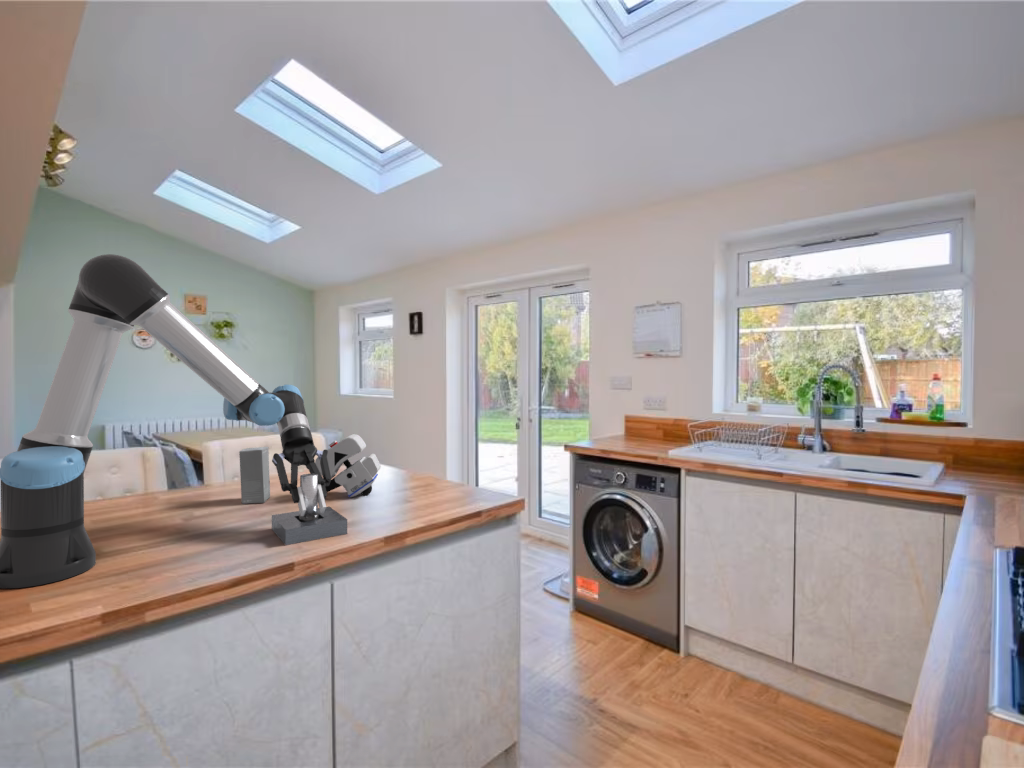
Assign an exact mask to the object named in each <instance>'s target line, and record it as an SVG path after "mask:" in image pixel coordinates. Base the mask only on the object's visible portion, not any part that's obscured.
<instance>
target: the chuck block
mask: <svg viewBox="0 0 1024 768" xmlns="http://www.w3.org/2000/svg"><path fill="white" fill-rule="evenodd" d="M318 513H319V519H316V520H309V521H303V522H300V521H299V515H300V511H299V510H298V511H290V512H284V513H278V514H277V513H275V514H271V530H272V531H273V532H274V533H275V535H276V536H277V537H278V538H279V539H280V540H281V542H282V543H283V544H284V546H288V545H293V544H299V543H300V544H301V543H304V542H310V541H316V540H320V538H322V539H327V538H331V536H332V537H337V536H342V535H348V519H347V518H346V517H345V516H343V515H342V514H341V513H339V512H337V510H335V509H333V508H332V507H330V506H326V509H325V511H324V513H320V508H319V507H318ZM326 537H327V538H326ZM315 539H316V540H315Z"/></svg>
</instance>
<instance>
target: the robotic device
mask: <svg viewBox="0 0 1024 768" xmlns="http://www.w3.org/2000/svg"><path fill="white" fill-rule="evenodd" d="M328 447H330V448H328V449H327V450H328V454H327V460H328V465H329V470H330V475H331V482H330V484H329V486H325V488H326V492H327V493H329V492H331V491H333V490H335V489H338V488H340V487H343V488H344V489H345V491H346V492H347V497H348V498H352V497H356V496H358V495H360V494H361V495H364V496H367V495H370V494H371V493H372V491H373V484H374V482H375V480H376V479H377V477H378V472H379V471H380V470H381V467H382V466H381V464H380V461H379V459H378V457H377V455H376V454H375V453H371V454H370V455H367V456H362V457H360V459H358V460H357V461H355V462H354V463H351V461H350V460H349V459H350V458H351V457H354V456H356V455H357V454H360V453H361V452H362V451H364V450H365V449H366V448H367V444H366V442H365V440H364V439H363V437H361V436H360V435H359V434H355V433H353V434H350V435H348V436H346V437H344V438H343V439H342V440H340V441H337V440H334V441H332V442H330V443H329V444H328ZM314 460H315V464H316V466H317V468H318V470H319V472H320V473H321V475H322V470H321V465H320V460H319V458H318V456H317V457H316V458H315V459H314ZM343 465H344V466H345V468H344V470H342V471H340V472H339V470H340V468H341V466H343ZM338 472H339V473H338ZM322 477H323V475H322Z"/></svg>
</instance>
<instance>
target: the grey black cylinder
mask: <svg viewBox="0 0 1024 768" xmlns="http://www.w3.org/2000/svg"><path fill="white" fill-rule="evenodd" d="M299 476H300V477H299V478H300V479H299V481H300V482H299V483H300V484H299V487H301V489H302V493H303V498H304V502H305V507H306V512H305V514H304V516H300V515H299V521H300V522H303V521H309V520H316V519H319V513H318V508H319V504H318V474H310V473H304V474H300V475H299Z"/></svg>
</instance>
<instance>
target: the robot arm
mask: <svg viewBox="0 0 1024 768" xmlns="http://www.w3.org/2000/svg"><path fill="white" fill-rule="evenodd" d="M67 310H68V311H67V312H68V313H69V314H70V316H71V318H73V324H72V326H71V328H70V331H69V335H68V337H67V340H66V342H65V345H64V349H63V351H62V354H61V356H60V358H59V359H60V360H59V361H58V364H57V368H56V370H55V372H54V376H53V379H52V382H51V384H50V387H49V390H48V393H47V395H46V398H45V401H44V404H43V407H42V409H41V412H40V415H39V418H38V421H37V423H36V426H35V428H34V429H32V430H30V431H28V432H26V433H24V434H23V435H22V437H21V439H20V442H19V444H18V447H17V451H13V452H10V453H9V454H7V455H5V456H4V457H3V458H2V460H1V462H0V529H1V530H0V531H1V532H0V589H19V588H22V589H23V588H30V587H35V586H42V585H45V584H46V585H47V584H51V583H54V582H59V581H62V580H66V579H69V578H73V577H75V576H77V575H80V574H82V573H85V572H87V571H89V570H91V569H92V568H93V567H94V566H95V565H96V561H97V560H96V558H97V556H96V554H97V553H96V550H95V548H94V546H93V543H92V541H91V538H90V536H89V535H88V532H87V530H86V528H85V490H84V489H85V488H84V487H85V482H84V481H85V479H84V478H85V477H84V474H85V470H86V468H87V466H88V462H89V459H90V456H91V453H92V450H93V447H94V444H93V442H92V441H91V440H90V439H89V437H88V435H89V434H90V430H91V426H92V424H93V421H94V418H95V415H96V412H97V409H98V406H99V403H100V400H101V397H102V394H103V391H104V388H105V385H106V383H107V380H108V376H109V374H110V371H111V368H112V365H113V362H114V361H115V356H116V354H117V350H118V348H119V344H120V342H121V340H122V336H123V334H124V333H126V332H128V331H130V330H132V329H134V327H135V326H138V327H140V328H142V329H143V330H144V331H145V332H147V334H149V335H150V336H151V337H152V338H153V339H155V340H156V341H157V342H158V343H159V344H160V345H162V346H163V347H164V348H165V349H167V351H169V353H171V354H172V355H174V357H176V358H177V359H179V361H180V362H182V363H183V364H184V365H185V366H186V367H188V369H190V370H192V371H193V373H195V374H196V375H197V376H198V377H200V379H202V380H203V381H204V382H205V383H206V384H208V386H210V387H211V388H213V390H215V391H216V392H217V393H218V394H220V395H221V396H222V397H223V398H224V399H223V403H222V407H223V408H222V410H223V411H222V413H223V417H224V418H225V419H226V420H228V421H229V420H230V421H236V422H238V421H246V422H250V423H254V424H255V425H258V426H262V427H263V426H266V427H267V426H274V425H276V424H277V427H278V432H279V436H280V442H281V448H282V451H281V452H280V453H274V454H273V456H272V459H271V462H272V463H273V464H274V466H275V468H276V471H277V475H278V476H277V477H278V480H279V484H280V487H281V491H282V492H289V494H290V495H291V498H292V502H293V503H294V504H297V507H298V511H300V516H304V514H305V512H306V507H305V502H304V498H303V493H302V489H301V487H300V486H298V481H299V480H298V478H299V477H298V476H299V475H298V474H299V466H305V467H306V470H308V471H309V474H318V508H320V513H324V511H325V509H326V507H327V505H326V499H327V496H328V492H326V488H325V486H329V484H330V482H331V480H332V479H331V475H330V470H329V465H328V460H327V454H328V449H323V450H320V449H318V448H317V447H316V446H315V444H314V443H315V442H314V438H313V435H312V432H311V427H310V423H309V420H308V415H307V413H306V407H305V404H304V403H305V402H304V398H303V396H302V393H301V390H300V389H299V388H298V387H297V386H295V385H293V384H284V385H279V386H277V387H275V388H274V389H273V391H272V392H269V391H268V390H267V389H266V388H265V387H264V386H263V385H261V383H259V382H258V380H256V379H255V378H254V377H253V376H252V375H251V374H249V373H248V372H247V371H246V370H245V369H244V368H243V367H242V366H241V365H240V364H238V363H237V361H235V360H234V359H233V358H232V357H231V356H230V355H229V354H227V352H225V350H223V349H222V348H221V347H220V346H219V345H217V344H216V342H215V341H213V340H212V339H211V338H210V337H209V336H207V335H206V333H204V332H203V331H202V330H201V329H200V328H199V327H198V326H197V325H196V324H195V323H193V321H191V320H190V319H189V318H188V317H187V316H186V315H184V313H183V312H181V311H180V310H179V309H178V308H177V307H176V306H175V305H174V304H173V303H171V297H170V294H169V293H168V292H167V291H166V290H164V288H162V287H161V285H159V284H158V283H157V281H156V280H155V279H154V278H152V276H150V274H149V273H147V271H146V270H145V269H144V268H143V267H142V266H140V265H139V264H138V263H137V262H135V261H134V260H133V259H130V258H128V257H126V256H123V255H119V254H109V253H108V254H102V255H97V256H94V257H92V258H90V259H89V260H88V261H86V262H85V263H84V264H83V265H82V267H81V268H80V271H79V274H78V281H77V285H76V287H75V290H74V293H73V295H72V299H71V301H70V304H69V308H68V309H67ZM315 456H317V457H318V458H319V460H320V465H321V470H322V475H323V476H322V475H321V473H320V472H319V470H318V468H317V466H316V464H315V460H316V459H315ZM284 460H286V461H287V462H288V463H289V464H290V483H289V478H288V474H287V471H286V467H285V463H284Z"/></svg>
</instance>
